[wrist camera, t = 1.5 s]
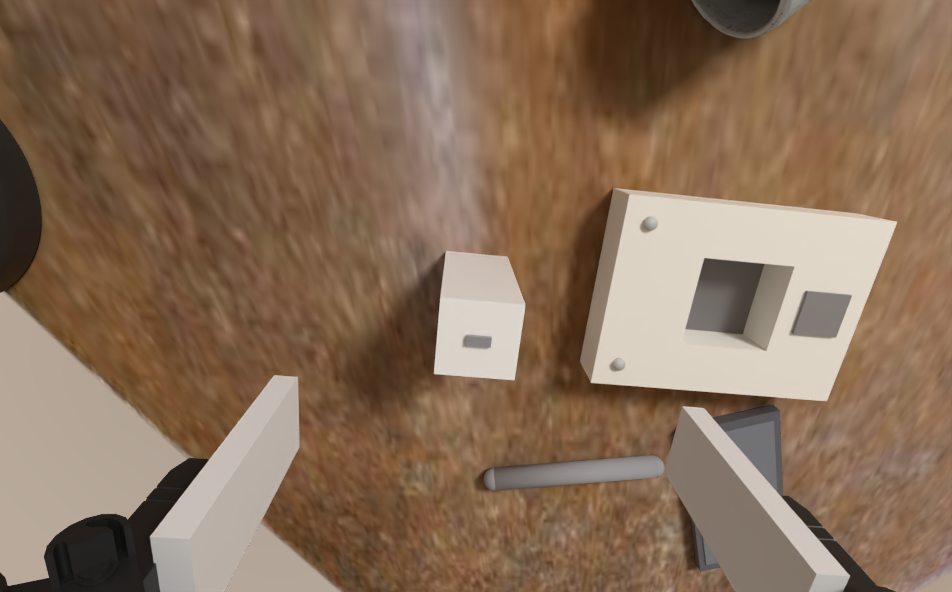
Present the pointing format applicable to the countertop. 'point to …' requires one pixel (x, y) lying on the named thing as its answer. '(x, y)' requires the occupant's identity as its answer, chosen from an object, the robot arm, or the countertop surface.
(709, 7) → the ceramic mug
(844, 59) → the countertop surface
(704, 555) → the phone slab
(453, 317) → the charger block
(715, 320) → the outlet plate
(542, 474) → the grey rod
